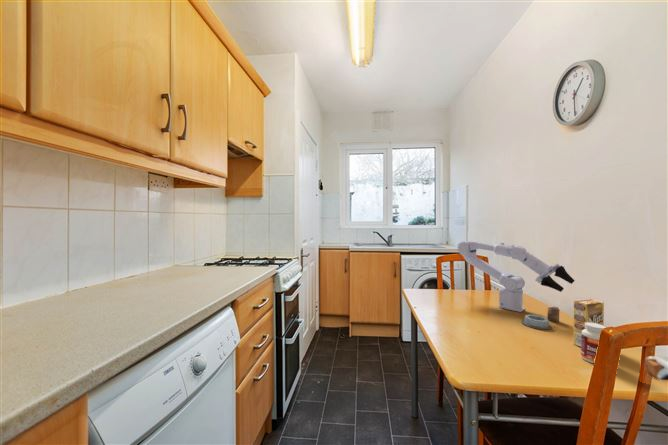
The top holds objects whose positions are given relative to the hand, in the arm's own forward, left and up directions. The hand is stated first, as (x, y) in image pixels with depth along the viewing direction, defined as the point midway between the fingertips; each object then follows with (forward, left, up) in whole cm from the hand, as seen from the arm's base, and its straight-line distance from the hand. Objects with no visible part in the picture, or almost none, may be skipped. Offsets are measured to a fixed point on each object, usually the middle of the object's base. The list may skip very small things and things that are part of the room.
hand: (567, 286), depth 116 cm
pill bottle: (+10, -37, -16) cm, 41 cm away
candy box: (+8, -24, -16) cm, 30 cm away
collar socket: (-8, -15, -15) cm, 23 cm away
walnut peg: (-4, -3, -15) cm, 16 cm away
